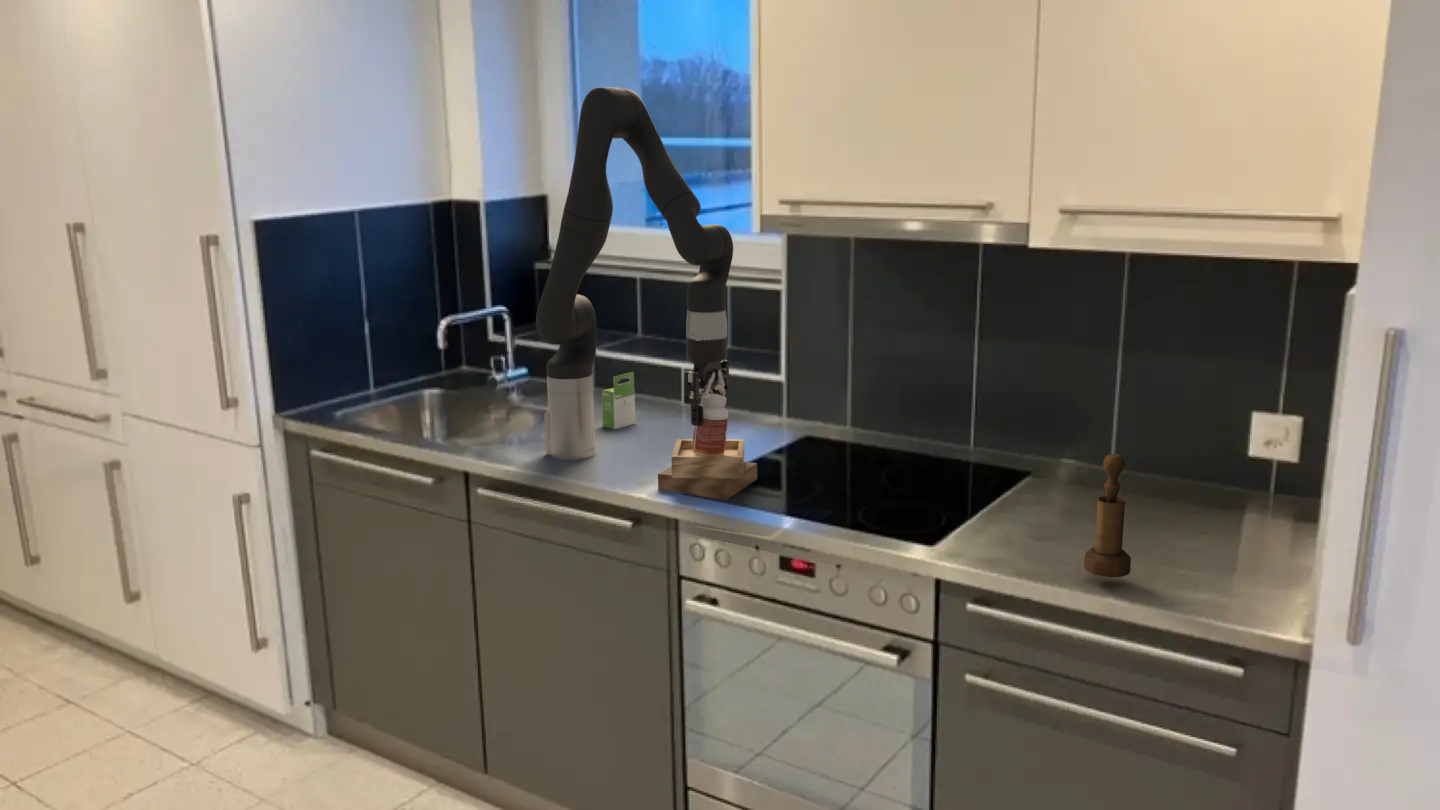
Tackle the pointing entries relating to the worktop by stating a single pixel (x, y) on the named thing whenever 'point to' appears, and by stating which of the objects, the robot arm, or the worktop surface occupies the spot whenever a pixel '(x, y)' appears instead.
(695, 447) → the pill bottle
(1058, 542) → the worktop surface
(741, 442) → the tower top
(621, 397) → the ink box
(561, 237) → the robot arm
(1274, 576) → the worktop surface
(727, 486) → the tower base
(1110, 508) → the mortar and pestle
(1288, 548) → the worktop surface
